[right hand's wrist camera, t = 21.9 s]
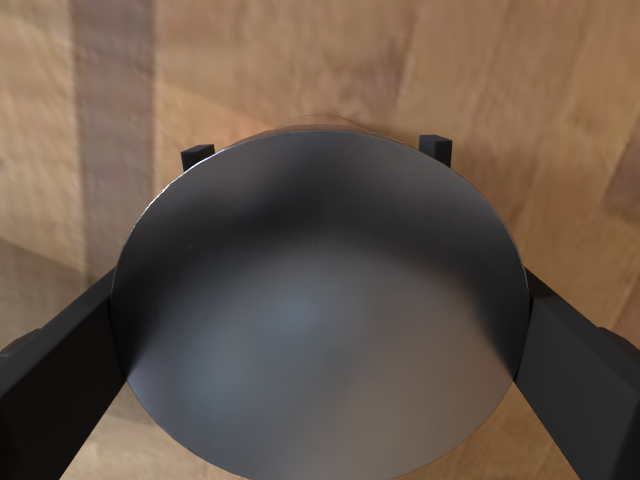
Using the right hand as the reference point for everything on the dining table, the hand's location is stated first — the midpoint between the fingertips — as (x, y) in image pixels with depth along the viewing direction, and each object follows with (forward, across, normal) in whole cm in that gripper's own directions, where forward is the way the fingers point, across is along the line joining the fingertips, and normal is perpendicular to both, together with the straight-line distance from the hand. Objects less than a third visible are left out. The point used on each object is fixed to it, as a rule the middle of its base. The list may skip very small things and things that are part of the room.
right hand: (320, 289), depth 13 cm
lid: (-3, 0, 0) cm, 3 cm away
